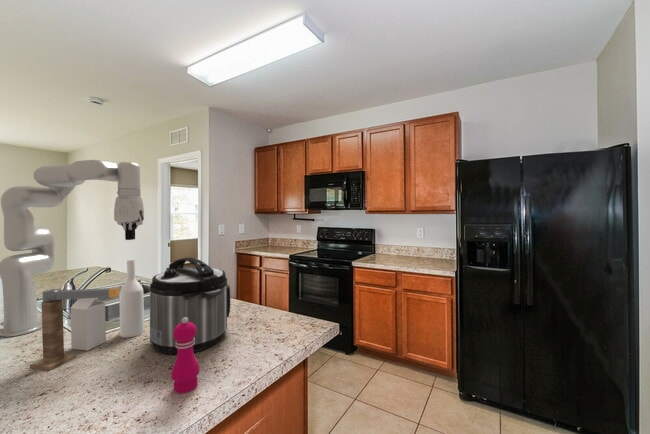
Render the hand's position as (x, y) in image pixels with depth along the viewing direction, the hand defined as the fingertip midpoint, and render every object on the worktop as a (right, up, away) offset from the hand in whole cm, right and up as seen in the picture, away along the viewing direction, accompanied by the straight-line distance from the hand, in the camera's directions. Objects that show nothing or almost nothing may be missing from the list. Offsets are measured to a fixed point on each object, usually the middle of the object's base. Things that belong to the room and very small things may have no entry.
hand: (130, 239), depth 117 cm
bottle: (0, -38, +1) cm, 38 cm away
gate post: (-11, -39, -21) cm, 46 cm away
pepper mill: (+38, -40, -34) cm, 65 cm away
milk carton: (-9, -39, -9) cm, 41 cm away
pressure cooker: (+27, -39, -3) cm, 47 cm away
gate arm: (-3, -18, -20) cm, 27 cm away
